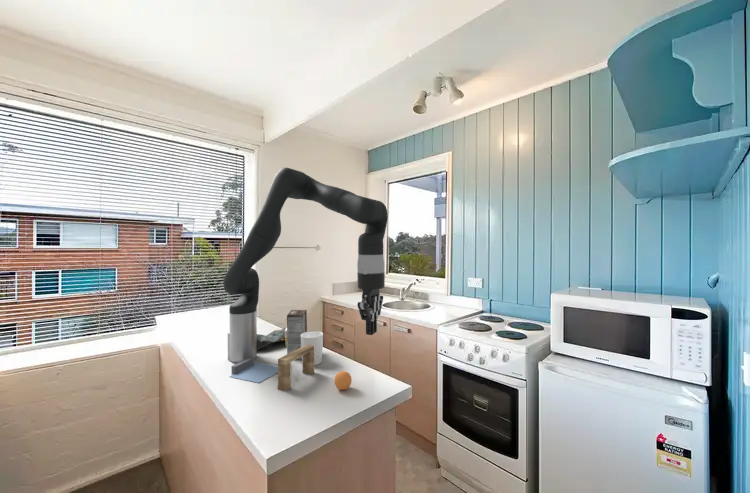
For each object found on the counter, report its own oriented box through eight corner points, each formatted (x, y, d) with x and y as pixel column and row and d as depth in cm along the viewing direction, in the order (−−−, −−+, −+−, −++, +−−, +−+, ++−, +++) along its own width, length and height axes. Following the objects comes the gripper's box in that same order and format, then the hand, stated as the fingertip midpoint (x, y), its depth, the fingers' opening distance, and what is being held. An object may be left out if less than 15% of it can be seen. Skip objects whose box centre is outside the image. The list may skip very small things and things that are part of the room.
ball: (331, 391, 86) (330, 373, 86) (339, 383, 91) (339, 367, 91) (346, 394, 84) (346, 376, 84) (354, 386, 89) (354, 369, 89)
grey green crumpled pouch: (254, 354, 116) (311, 339, 133) (253, 336, 116) (310, 323, 133) (242, 349, 125) (296, 335, 142) (241, 332, 126) (295, 320, 143)
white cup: (318, 367, 103) (318, 338, 103) (296, 365, 105) (296, 336, 105) (326, 359, 111) (326, 331, 111) (306, 357, 112) (306, 330, 112)
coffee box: (291, 350, 120) (290, 309, 120) (307, 349, 121) (307, 309, 121) (286, 358, 111) (286, 314, 111) (304, 358, 112) (303, 314, 112)
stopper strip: (231, 373, 98) (231, 366, 98) (250, 364, 106) (250, 357, 106) (235, 374, 98) (235, 366, 98) (253, 365, 105) (253, 358, 105)
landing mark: (229, 376, 96) (229, 376, 96) (257, 363, 107) (257, 362, 107) (258, 383, 91) (258, 382, 91) (284, 368, 102) (284, 367, 102)
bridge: (278, 389, 87) (277, 359, 87) (306, 370, 100) (306, 344, 100) (286, 391, 86) (286, 360, 86) (314, 372, 99) (313, 345, 99)
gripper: (368, 269, 92) (368, 326, 92) (347, 272, 79) (348, 339, 79) (391, 269, 89) (392, 328, 89) (374, 273, 76) (374, 342, 76)
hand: (371, 333), depth 84 cm, fingers closed
